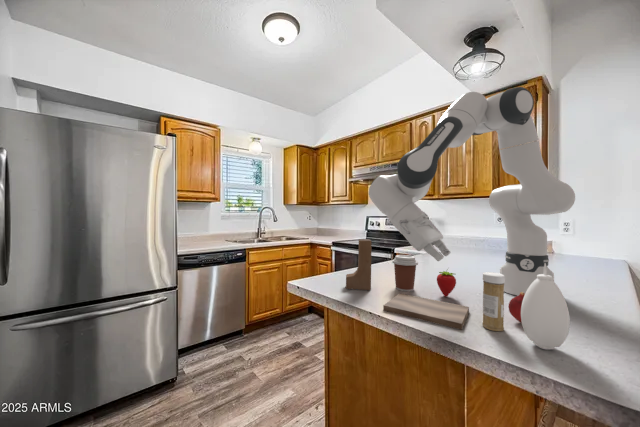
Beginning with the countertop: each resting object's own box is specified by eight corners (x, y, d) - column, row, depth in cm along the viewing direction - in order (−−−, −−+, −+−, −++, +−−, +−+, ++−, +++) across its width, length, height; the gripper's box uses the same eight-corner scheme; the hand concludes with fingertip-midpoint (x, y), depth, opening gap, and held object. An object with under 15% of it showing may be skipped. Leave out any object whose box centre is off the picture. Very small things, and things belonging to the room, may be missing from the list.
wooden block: (345, 289, 94) (346, 240, 94) (346, 285, 99) (346, 238, 99) (370, 290, 94) (371, 240, 93) (369, 286, 98) (370, 239, 98)
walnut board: (399, 297, 86) (399, 293, 86) (468, 312, 74) (469, 306, 74) (383, 310, 75) (383, 305, 75) (461, 329, 63) (461, 323, 63)
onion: (542, 329, 64) (542, 296, 64) (515, 327, 65) (516, 295, 65) (528, 319, 69) (528, 289, 69) (504, 317, 71) (504, 288, 71)
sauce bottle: (522, 350, 54) (524, 263, 54) (518, 335, 61) (519, 258, 60) (574, 362, 50) (576, 268, 50) (563, 344, 56) (564, 262, 56)
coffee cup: (422, 289, 95) (423, 257, 95) (408, 294, 90) (408, 259, 90) (401, 283, 102) (402, 253, 102) (386, 287, 97) (387, 255, 97)
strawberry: (452, 293, 91) (453, 265, 91) (458, 301, 83) (459, 270, 83) (434, 292, 92) (435, 264, 92) (438, 299, 85) (439, 268, 85)
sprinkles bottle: (508, 331, 63) (509, 275, 62) (493, 333, 61) (494, 276, 61) (492, 323, 67) (493, 271, 67) (477, 324, 66) (478, 271, 66)
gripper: (405, 212, 67) (446, 254, 61) (426, 212, 83) (460, 245, 77) (388, 229, 69) (426, 270, 64) (411, 225, 86) (443, 258, 80)
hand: (445, 257), depth 71 cm, fingers open, 8 cm apart
